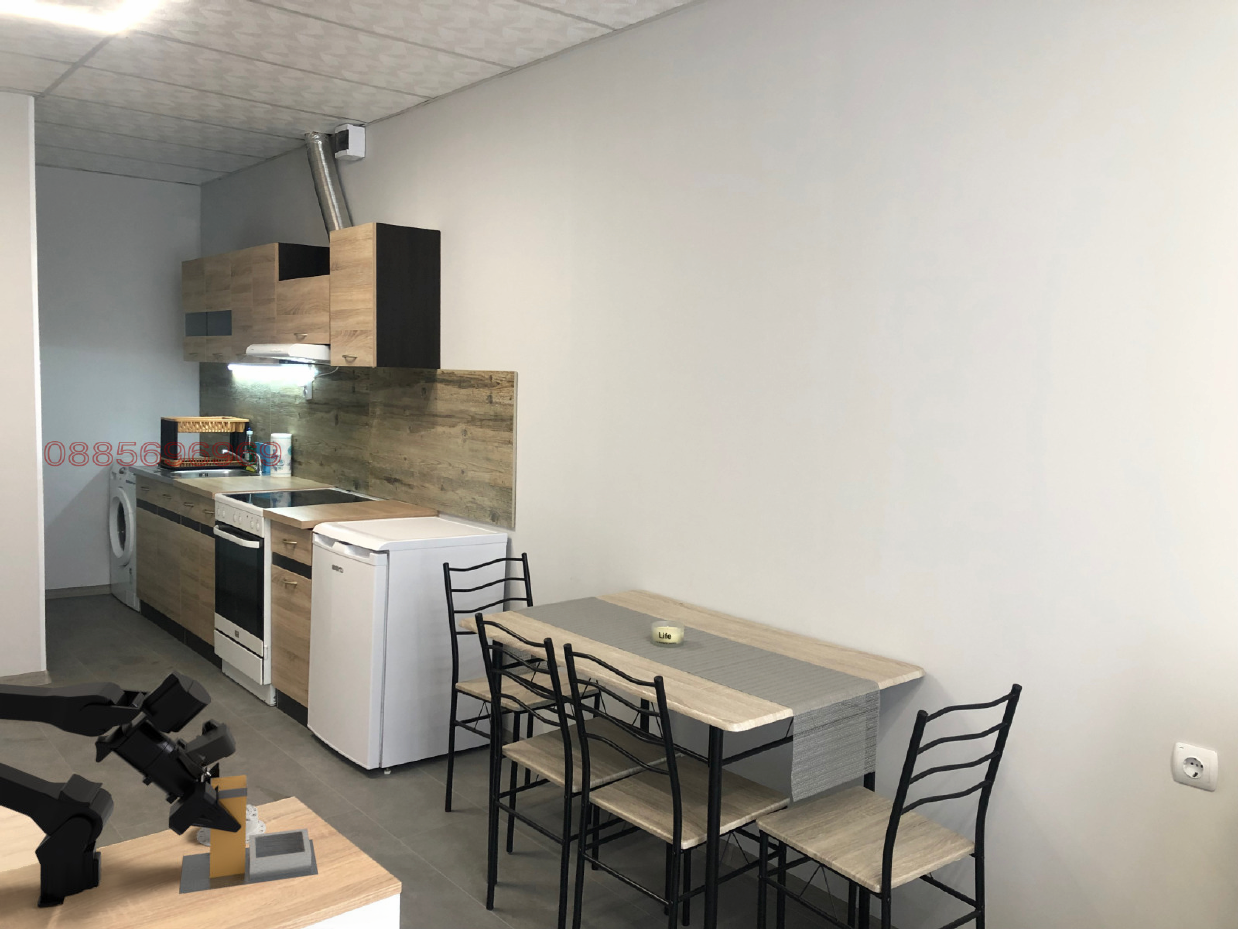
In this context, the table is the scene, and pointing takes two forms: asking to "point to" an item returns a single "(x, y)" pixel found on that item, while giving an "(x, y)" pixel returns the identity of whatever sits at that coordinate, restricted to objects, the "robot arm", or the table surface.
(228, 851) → the capped orange pillar
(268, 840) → the grey socket base plate
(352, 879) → the table surface
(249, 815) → the mechanical component
